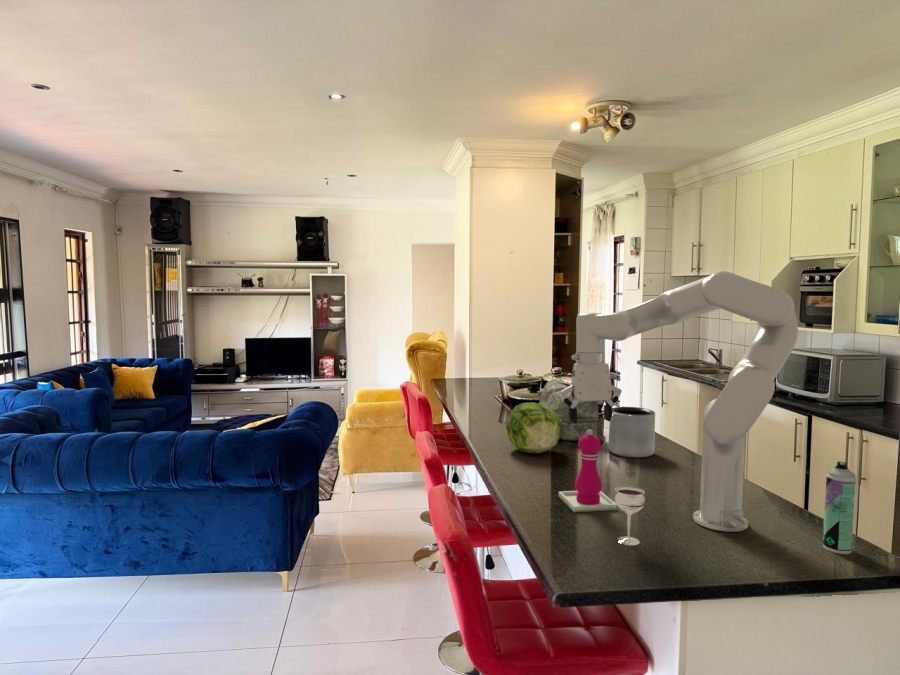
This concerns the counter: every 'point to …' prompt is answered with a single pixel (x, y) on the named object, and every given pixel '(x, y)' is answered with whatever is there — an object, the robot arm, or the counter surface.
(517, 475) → the counter surface
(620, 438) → the planter
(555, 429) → the lettuce
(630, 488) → the wineglass
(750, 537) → the counter surface
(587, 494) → the pepper mill
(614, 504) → the tray
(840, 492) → the spray can
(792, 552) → the counter surface
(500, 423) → the counter surface
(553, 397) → the lunch bag
